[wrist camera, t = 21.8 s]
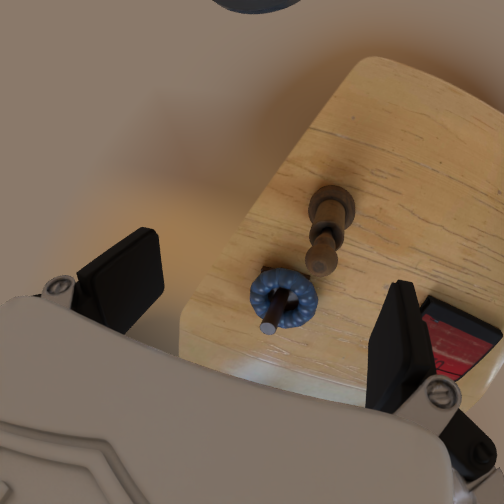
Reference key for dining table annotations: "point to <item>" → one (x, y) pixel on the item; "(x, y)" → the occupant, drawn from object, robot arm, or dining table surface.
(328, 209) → the mortar and pestle
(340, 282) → the dining table surface
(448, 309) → the ink pad
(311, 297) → the blue ring
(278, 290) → the stand
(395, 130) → the dining table surface
